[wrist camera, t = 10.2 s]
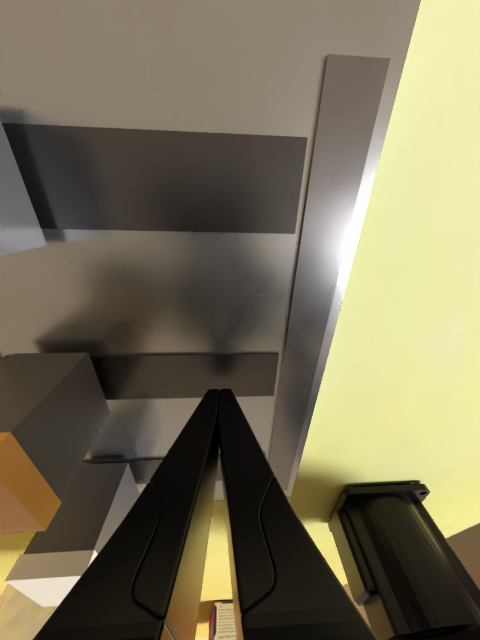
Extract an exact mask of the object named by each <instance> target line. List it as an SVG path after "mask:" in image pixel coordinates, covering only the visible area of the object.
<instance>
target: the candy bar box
mask: <svg viewBox="0 0 480 640" xmlns="http://www.w3.org/2000/svg"><path fill="white" fill-rule="evenodd" d="M209 640H237V639H236V628H235V617H234V606H233V600H223V601H215V602H214V606H213V610H212V614H211V618H210V622H209Z"/></svg>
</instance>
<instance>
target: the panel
mask: <svg viewBox="0 0 480 640" xmlns="http://www.w3.org/2000/svg"><path fill="white" fill-rule="evenodd" d="M420 2H421V0H0V120H1V123H2V125H3V128H4V131H5V133H6V136H7V139H8V142H9V144H10V147H11V150H12V152H13V155H14V158H15V160H16V163H17V166H18V168H19V171H20V174H21V176H22V179H23V182H24V184H25V187H26V190H27V193H28V195H29V198H30V201H31V203H32V206H33V209H34V211H35V214H36V217H37V219H38V222H39V225H40V227H41V230H42V233H43V236H44V238H45V241H46V244H47V246H45V247H40V248H35V249H30V250H25V251H20V252H15V253H10V254H5V255H0V363H1V362H3V361H4V360H6V359H7V358H8V357H10V356H11V355H13V354H14V353H89V356H90V358H91V361H92V364H93V366H94V369H95V372H96V375H97V377H98V380H99V383H100V385H101V388H102V391H103V394H104V396H105V399H106V402H107V404H108V407H109V410H110V415H109V416H108V418H107V420H106V421H105V423H104V425H103V427H102V428H101V430H100V432H99V434H98V435H97V437H96V439H95V441H94V442H93V444H92V446H91V447H90V449H89V451H88V453H87V454H86V456H85V458H84V460H83V461H82V463H81V465H82V464H107V463H128V464H129V466H130V469H131V472H132V475H133V477H134V480H135V483H136V485H137V488H138V491H139V493H140V494H141V493H142V491H143V489H144V488H145V486H146V485H147V483H150V479H151V477H152V476H153V474H154V473H155V471H156V469H157V468H158V466H159V465H160V463H161V462H162V460H163V459H164V457H165V455H166V454H167V452H168V451H169V449H170V448H171V446H172V445H173V443H174V442H175V440H176V438H177V437H178V435H179V434H180V432H181V431H182V429H183V428H184V426H185V424H186V423H187V421H188V420H189V418H190V417H191V415H192V414H193V412H194V410H195V409H196V407H197V406H198V404H199V403H200V401H201V400H202V398H203V397H204V395H205V393H206V392H207V390H209V389H219V390H220V389H231V390H232V391H233V393H234V395H235V397H236V399H237V401H238V403H239V405H240V407H241V409H242V411H243V413H244V415H245V417H246V419H247V421H248V423H249V425H250V426H251V428H252V430H253V432H254V434H255V436H256V438H257V440H258V442H259V444H260V446H261V448H262V450H263V452H264V454H265V456H266V458H267V460H268V461H269V463H270V465H271V467H272V469H273V471H274V473H275V477H277V479H278V481H279V483H280V485H281V486H282V488H283V490H284V492H285V494H286V496H291V495H292V491H293V488H294V484H295V480H296V476H297V472H298V468H299V465H300V461H301V457H302V453H303V449H304V445H305V442H306V438H307V434H308V430H309V426H310V423H311V419H312V415H313V411H314V407H315V403H316V400H317V396H318V392H319V388H320V384H321V380H322V377H323V373H324V369H325V365H326V361H327V357H328V354H329V350H330V346H331V342H332V338H333V335H334V331H335V327H336V323H337V319H338V315H339V312H340V308H341V304H342V300H343V296H344V292H345V289H346V285H347V281H348V277H349V273H350V269H351V266H352V262H353V258H354V254H355V250H356V247H357V243H358V239H359V235H360V231H361V227H362V224H363V220H364V216H365V212H366V208H367V204H368V201H369V197H370V193H371V189H372V185H373V181H374V178H375V174H376V170H377V166H378V162H379V159H380V155H381V151H382V147H383V143H384V139H385V136H386V132H387V128H388V124H389V120H390V116H391V113H392V109H393V105H394V101H395V97H396V93H397V90H398V86H399V82H400V78H401V74H402V71H403V67H404V63H405V59H406V55H407V51H408V48H409V44H410V40H411V36H412V32H413V28H414V25H415V21H416V17H417V13H418V9H419V6H420ZM213 500H224V496H223V485H222V474H221V463H220V449H219V461H218V469H217V476H216V484H215V492H214V499H213Z"/></svg>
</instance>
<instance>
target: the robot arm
mask: <svg viewBox="0 0 480 640" xmlns="http://www.w3.org/2000/svg"><path fill="white" fill-rule="evenodd" d="M219 449H220V463H221V474H222V485H223V496H224V507H225V518H226V529H227V540H228V551H229V562H230V573H231V584H232V595H233V606H234V617H235V628H236V639H237V640H480V590H479V588H478V587H477V585H476V584H475V582H474V581H473V579H472V578H471V576H470V575H469V573H468V572H467V570H466V569H465V567H464V566H463V564H462V563H461V561H460V560H459V558H458V557H457V555H456V554H455V552H454V551H453V549H452V548H451V546H450V545H449V543H448V542H447V540H446V539H445V537H444V536H443V534H442V533H441V531H440V530H439V528H438V526H437V525H436V523H435V522H434V520H433V519H432V517H431V516H430V514H429V513H428V511H427V510H426V508H425V507H424V505H423V504H422V501H423V500H424V499H425V498H426V496H427V495H428V494H429V493H430V491H429V489H428V488H427V487H426V485H425V484H409V485H389V486H369V487H351V488H347V489H345V490H344V491H343V493H342V496H341V498H340V500H339V502H338V504H337V506H336V508H335V510H334V512H333V515H332V517H331V519H330V521H329V523H328V526H329V529H330V531H331V532H332V534H333V537H334V540H335V544H336V547H337V550H338V553H339V556H340V559H341V562H342V565H343V568H344V571H345V574H346V577H347V581H348V584H349V587H350V590H351V593H352V596H353V599H354V601H355V602H356V603H357V604H358V605H359V606H364V609H365V612H366V615H367V618H368V621H369V624H370V626H371V628H370V627H369V625H368V624H367V623H366V621H365V620H364V618H363V617H362V615H361V614H360V612H359V611H358V609H357V608H356V606H355V605H354V603H353V602H352V600H351V599H350V597H349V596H348V594H347V592H346V591H345V589H344V588H343V586H342V585H341V583H340V582H339V580H338V578H337V577H336V575H335V574H334V572H333V571H332V569H331V568H330V566H329V565H328V563H327V561H326V560H325V558H324V557H323V555H322V554H321V552H320V551H319V549H318V548H317V546H316V544H315V543H314V541H313V540H312V538H311V537H310V535H309V533H308V532H307V530H306V529H305V527H304V525H303V524H302V522H301V520H300V519H299V517H298V516H297V514H296V512H295V510H294V509H293V507H292V505H291V503H290V501H289V500H288V498H287V496H286V494H285V492H284V490H283V488H282V486H281V485H280V483H279V481H278V479H277V477H275V473H274V471H273V469H272V467H271V465H270V463H269V461H268V460H267V458H266V456H265V454H264V452H263V450H262V448H261V446H260V444H259V442H258V440H257V438H256V436H255V434H254V432H253V430H252V428H251V426H250V425H249V423H248V421H247V419H246V417H245V415H244V413H243V411H242V409H241V407H240V405H239V403H238V401H237V399H236V397H235V395H234V393H233V391H232V390H231V389H220V390H219V389H209V390H207V392H206V393H205V395H204V397H203V398H202V400H201V401H200V403H199V404H198V406H197V407H196V409H195V410H194V412H193V414H192V415H191V417H190V418H189V420H188V421H187V423H186V424H185V426H184V428H183V429H182V431H181V432H180V434H179V435H178V437H177V438H176V440H175V442H174V443H173V445H172V446H171V448H170V449H169V451H168V452H167V454H166V455H165V457H164V459H163V460H162V462H161V463H160V465H159V466H158V468H157V469H156V471H155V473H154V474H153V476H152V477H151V479H150V483H147V485H146V486H145V488H144V489H143V491H142V493H141V494H140V496H139V497H138V499H137V500H136V502H135V503H134V505H133V506H132V508H131V509H130V511H129V512H128V513H127V515H126V516H125V518H124V519H123V521H122V522H121V524H120V525H119V526H118V528H117V529H116V530H115V532H114V533H113V534H112V536H111V537H110V539H109V540H108V541H107V543H106V544H105V545H104V547H103V548H102V549H101V551H100V552H99V553H98V555H97V556H96V557H95V559H94V560H93V561H92V562H91V564H90V565H89V566H88V568H87V569H86V570H85V572H84V573H83V574H82V576H81V577H80V578H79V579H78V581H77V582H76V583H75V585H74V586H73V587H72V589H71V590H70V591H69V593H68V594H67V595H66V596H65V598H64V599H63V600H62V602H61V603H60V604H59V606H58V607H57V608H56V610H55V611H54V612H53V614H52V615H51V616H50V617H49V619H48V620H47V621H46V623H45V624H44V625H43V627H42V628H41V629H40V630H39V632H38V633H37V634H36V636H35V637H34V638H33V639H32V640H195V635H196V628H197V620H198V612H199V605H200V597H201V590H202V582H203V575H204V567H205V560H206V552H207V544H208V537H209V529H210V522H211V514H212V507H213V499H214V492H215V484H216V476H217V469H218V461H219ZM371 629H372V630H371Z"/></svg>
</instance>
